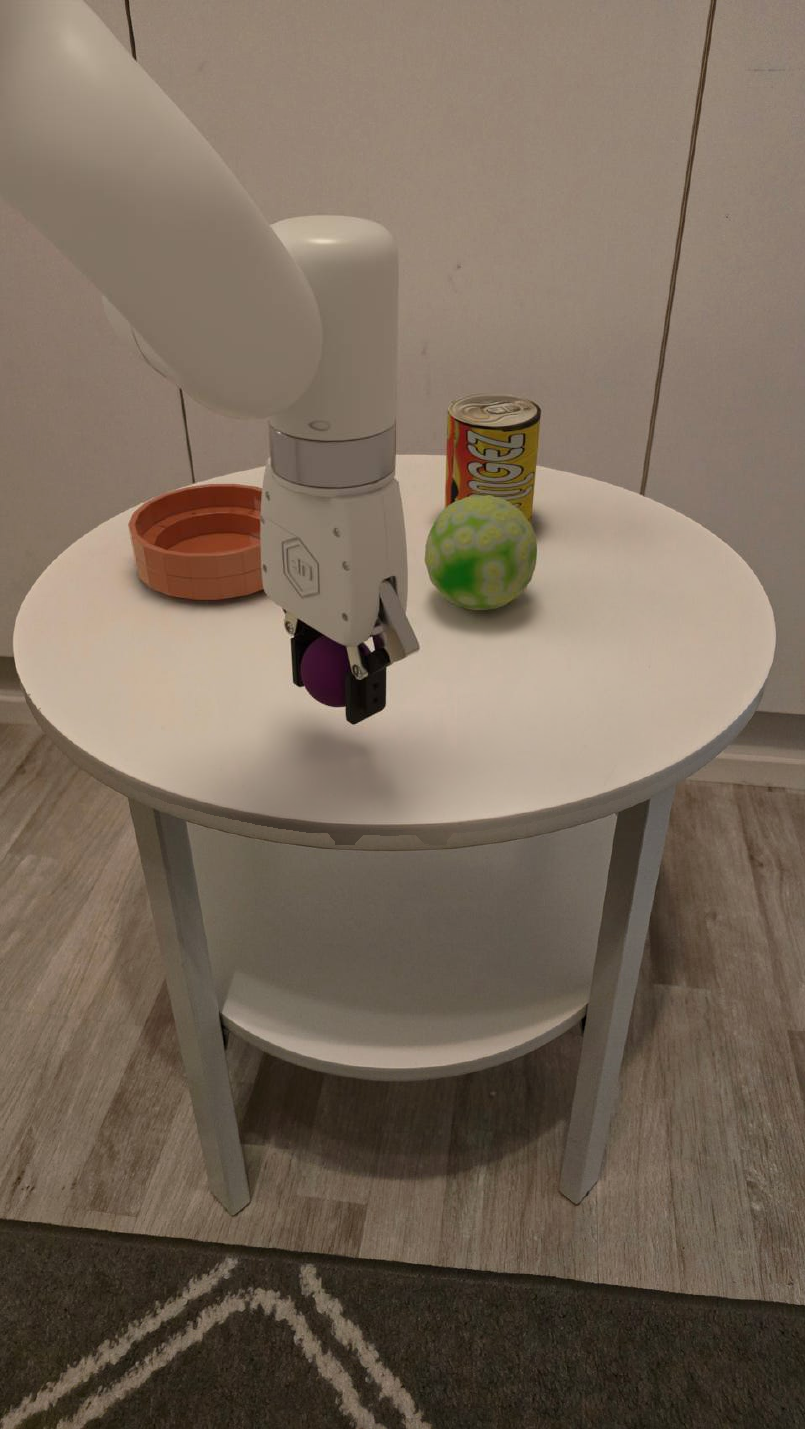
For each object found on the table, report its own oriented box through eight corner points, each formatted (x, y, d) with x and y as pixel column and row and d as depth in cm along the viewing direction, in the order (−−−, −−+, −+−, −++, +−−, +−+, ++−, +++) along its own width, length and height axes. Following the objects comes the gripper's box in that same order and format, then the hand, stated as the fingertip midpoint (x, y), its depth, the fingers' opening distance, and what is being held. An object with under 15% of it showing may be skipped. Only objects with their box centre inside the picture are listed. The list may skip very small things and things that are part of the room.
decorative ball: (517, 572, 94) (525, 473, 88) (545, 627, 86) (555, 522, 80) (415, 579, 93) (416, 480, 87) (433, 636, 85) (436, 530, 79)
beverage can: (428, 516, 103) (430, 403, 96) (499, 498, 107) (506, 388, 100) (474, 551, 97) (480, 433, 90) (548, 530, 101) (560, 416, 93)
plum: (315, 729, 67) (313, 665, 64) (292, 688, 71) (289, 626, 68) (386, 712, 69) (387, 650, 66) (360, 673, 72) (359, 612, 69)
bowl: (184, 623, 86) (176, 573, 83) (111, 558, 96) (101, 511, 93) (327, 572, 94) (325, 524, 91) (246, 516, 103) (241, 471, 100)
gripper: (200, 424, 62) (225, 665, 72) (381, 513, 52) (379, 778, 62) (295, 398, 66) (306, 630, 77) (479, 476, 56) (462, 731, 67)
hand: (338, 694), depth 69 cm, fingers closed on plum, 5 cm apart
